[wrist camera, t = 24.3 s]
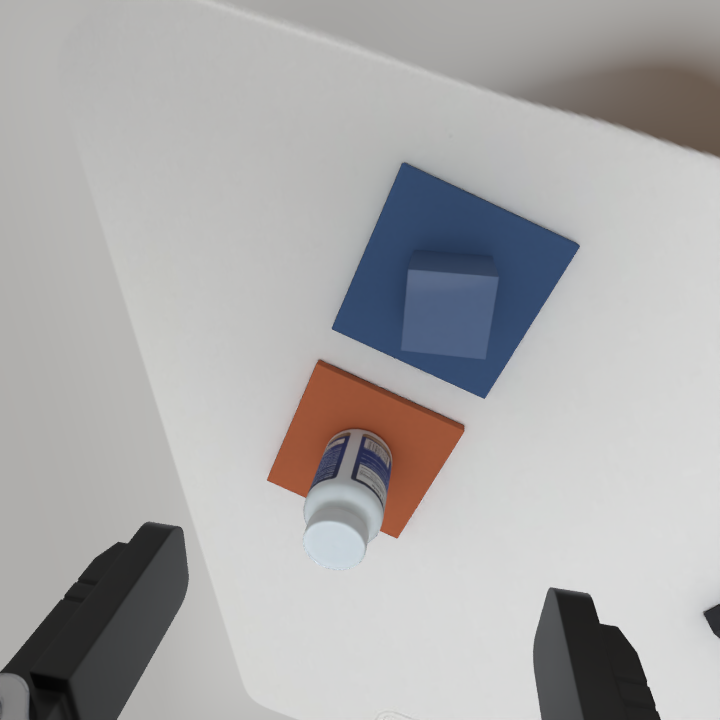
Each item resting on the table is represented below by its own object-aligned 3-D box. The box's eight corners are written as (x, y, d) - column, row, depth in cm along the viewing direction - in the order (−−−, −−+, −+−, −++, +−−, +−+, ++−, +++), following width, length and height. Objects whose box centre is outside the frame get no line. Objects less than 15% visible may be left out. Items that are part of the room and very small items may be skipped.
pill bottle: (328, 482, 42) (295, 575, 33) (323, 425, 40) (287, 509, 31) (394, 486, 41) (378, 583, 32) (392, 428, 39) (375, 515, 30)
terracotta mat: (269, 474, 44) (266, 480, 43) (319, 359, 39) (316, 363, 38) (398, 532, 44) (397, 538, 43) (464, 425, 39) (464, 430, 38)
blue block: (407, 322, 35) (400, 350, 31) (413, 249, 33) (407, 268, 29) (481, 329, 35) (485, 360, 30) (492, 256, 33) (499, 276, 28)
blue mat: (333, 325, 37) (331, 329, 36) (403, 161, 32) (402, 162, 31) (483, 394, 38) (484, 399, 37) (577, 243, 32) (580, 246, 32)
